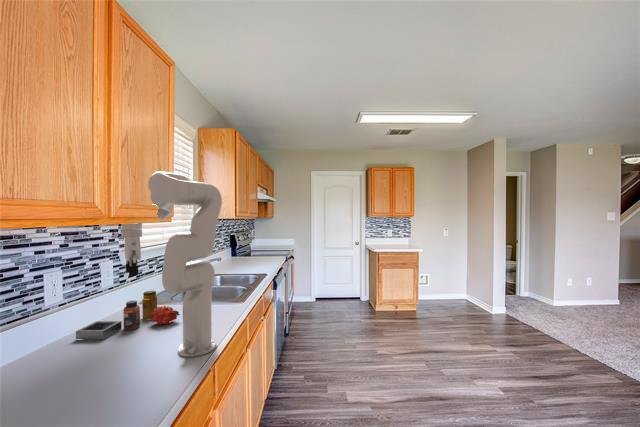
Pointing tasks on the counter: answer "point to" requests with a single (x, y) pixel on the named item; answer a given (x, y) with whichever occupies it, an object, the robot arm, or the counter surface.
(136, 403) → the counter surface
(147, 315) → the condiment
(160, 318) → the dragon fruit
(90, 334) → the square tray frame
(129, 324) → the supplement bottle
